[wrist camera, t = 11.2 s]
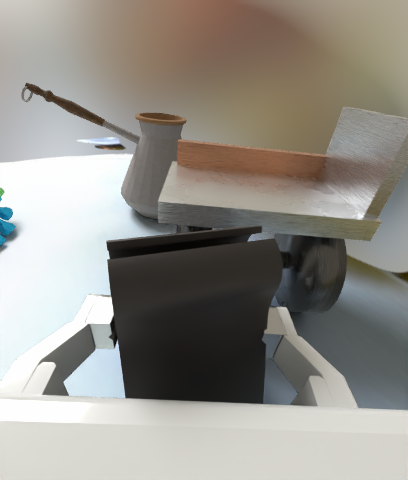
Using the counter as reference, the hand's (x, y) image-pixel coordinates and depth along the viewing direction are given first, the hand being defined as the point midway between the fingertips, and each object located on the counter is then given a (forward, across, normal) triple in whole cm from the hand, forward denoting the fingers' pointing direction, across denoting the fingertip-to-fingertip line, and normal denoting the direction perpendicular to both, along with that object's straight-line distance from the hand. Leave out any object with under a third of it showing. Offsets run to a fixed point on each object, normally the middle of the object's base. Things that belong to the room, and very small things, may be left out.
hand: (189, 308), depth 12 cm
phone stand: (-1, 0, +8) cm, 8 cm away
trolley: (+11, -5, +8) cm, 14 cm away
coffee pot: (+26, +10, +8) cm, 29 cm away
